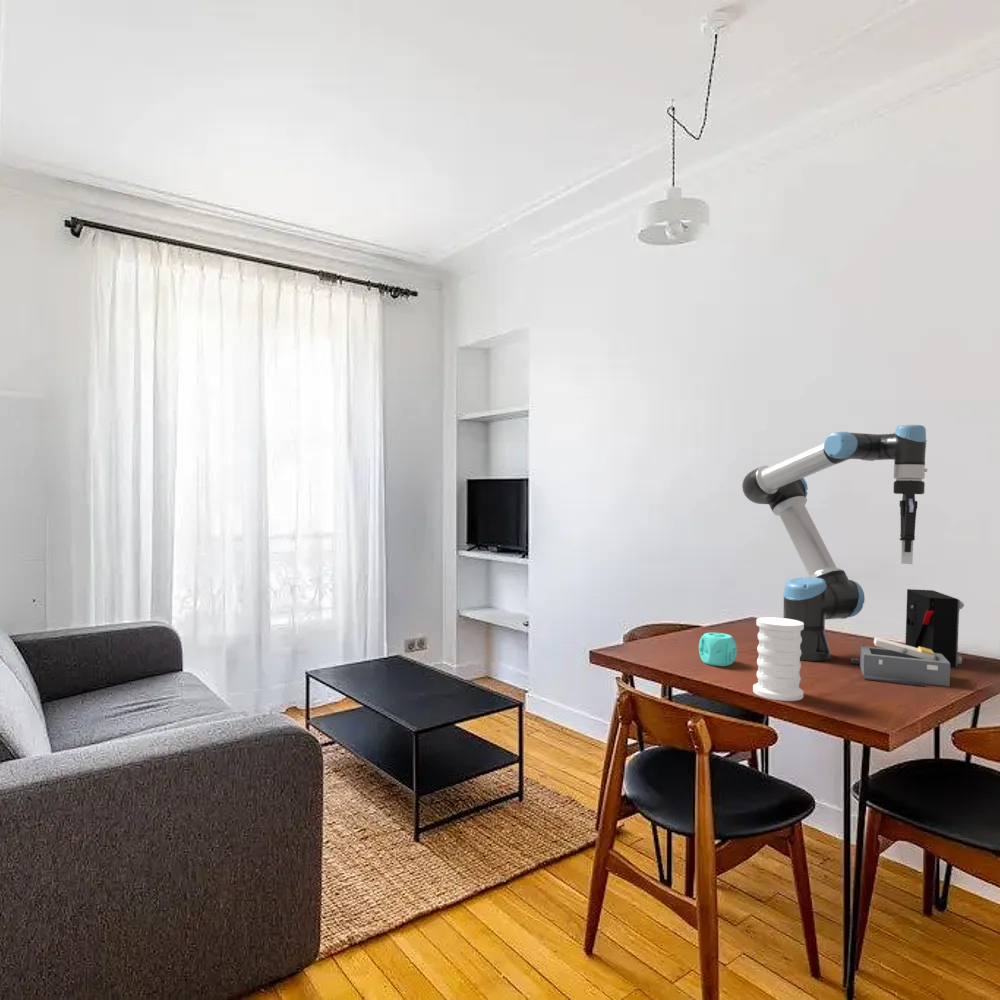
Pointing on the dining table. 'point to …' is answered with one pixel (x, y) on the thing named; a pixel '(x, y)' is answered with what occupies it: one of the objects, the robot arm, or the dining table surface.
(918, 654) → the rocker
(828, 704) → the dining table surface
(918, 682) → the dark grey thin bar
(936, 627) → the electrical component
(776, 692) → the decorative container
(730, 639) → the decorative dice
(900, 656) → the breaker housing
